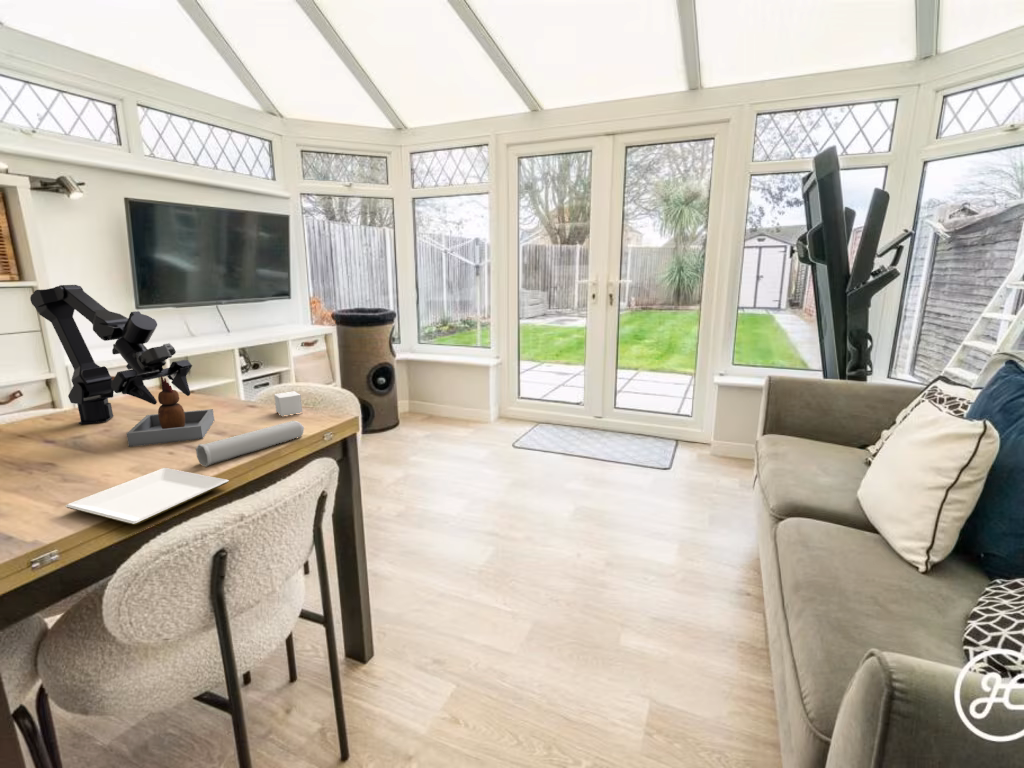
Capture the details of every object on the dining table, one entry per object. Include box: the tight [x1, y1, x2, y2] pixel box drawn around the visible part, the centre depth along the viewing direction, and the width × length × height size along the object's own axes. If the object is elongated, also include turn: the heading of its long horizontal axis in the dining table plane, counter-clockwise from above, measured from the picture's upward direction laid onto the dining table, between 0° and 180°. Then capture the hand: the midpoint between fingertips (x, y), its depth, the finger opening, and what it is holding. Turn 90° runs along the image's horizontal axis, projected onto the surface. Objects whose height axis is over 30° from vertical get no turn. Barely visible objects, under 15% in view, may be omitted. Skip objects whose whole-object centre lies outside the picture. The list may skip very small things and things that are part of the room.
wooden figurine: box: [157, 376, 185, 429], centre depth 133 cm, size 7×6×15 cm
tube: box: [195, 420, 305, 468], centre depth 122 cm, size 5×5×25 cm
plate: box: [65, 467, 230, 526], centre depth 96 cm, size 19×19×2 cm
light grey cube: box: [273, 390, 303, 417], centre depth 152 cm, size 6×6×6 cm
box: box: [125, 408, 215, 448], centre depth 135 cm, size 16×17×4 cm
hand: (173, 399), depth 132 cm, fingers open, 9 cm apart
